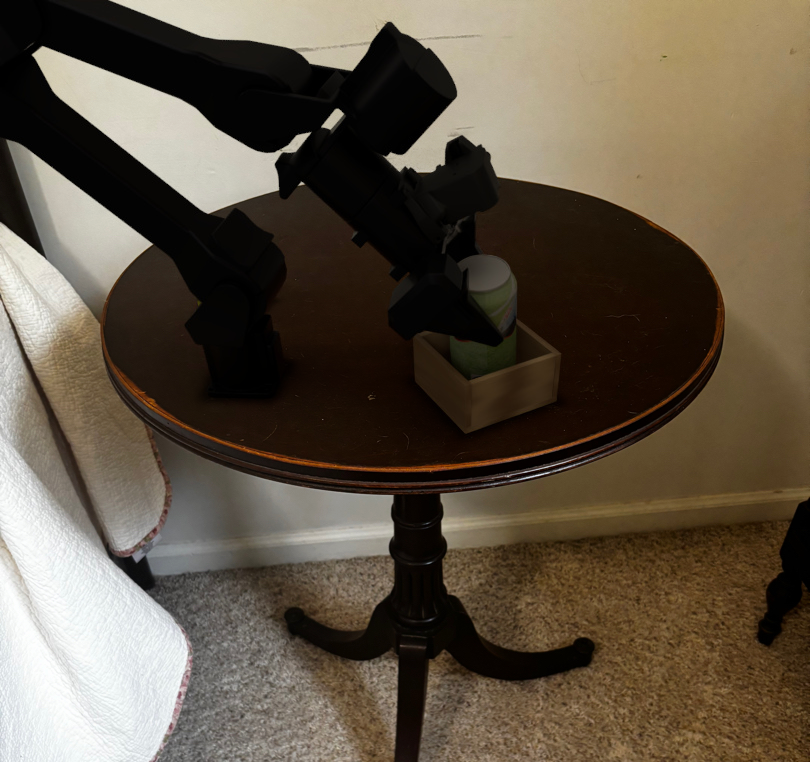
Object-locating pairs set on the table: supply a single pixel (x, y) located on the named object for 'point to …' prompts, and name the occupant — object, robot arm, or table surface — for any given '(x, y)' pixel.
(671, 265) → the table surface
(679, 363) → the table surface
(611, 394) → the table surface
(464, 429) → the holder
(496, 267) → the beverage can
